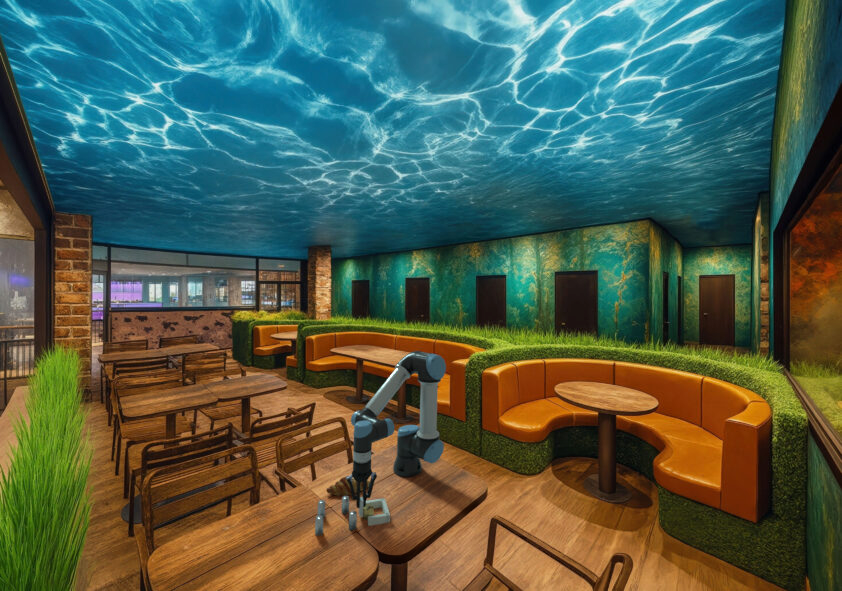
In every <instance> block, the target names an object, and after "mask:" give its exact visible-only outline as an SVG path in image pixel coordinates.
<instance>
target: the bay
mask: <svg viewBox="0 0 842 591" xmlns="http://www.w3.org/2000/svg"><path fill="white" fill-rule="evenodd" d="M366 505H372V506H373V507H374V509H378V508H380V509H382V513H380V514H373V516H368V520H367V526H368V527H369V526H371V527H372V526H377V525H383V524H388V523H390V522H391V514H390V511H389V507H388V505H387V501H386V498H385V497H384V498H383V497H382V498H376V499H371V500H370V499H369V500H366Z"/></svg>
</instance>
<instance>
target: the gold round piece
mask: <svg viewBox="0 0 842 591" xmlns="http://www.w3.org/2000/svg"><path fill="white" fill-rule="evenodd" d="M374 509H375V508H374V507H373V506H372V505H366V506H365V507H363V516H362V519H363V520H366V521H368V516H373V515H375V513H374V511H375V510H374Z"/></svg>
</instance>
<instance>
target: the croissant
mask: <svg viewBox="0 0 842 591" xmlns="http://www.w3.org/2000/svg"><path fill="white" fill-rule="evenodd" d="M347 476H348V475H346V476H343V477H341V478H340V480H338V481H336V482H335V483H334V484H331V485H330V486H329V487H327V488H326V492H327V493H328V494H329V495H330V494H331V495H333V496H337V497H340V496H341V497H343V496H352V494H351V490H350V485H349V483H348V482H347V478H346V477H347ZM352 479H353V480H352V484H353V488H354V493H355V494H357V482H356V480H355V479H354V478H352ZM369 483H370V480H369V479H368V480H367V486H366V489H368V487H369ZM362 491H363V482H361V485H360V492H362Z"/></svg>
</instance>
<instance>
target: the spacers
mask: <svg viewBox="0 0 842 591" xmlns="http://www.w3.org/2000/svg"><path fill="white" fill-rule="evenodd" d="M349 496H350V495H347V496H341V513H342V514H344V515H347V514H348V515H349V516H348V530H349V531H355V530H356V529H357V522H358V520H357V518H358V517H357V516H358V513H357V511H355V510H352V511H350V497H349ZM325 517H326V500H324V499H320V500H318V502H317V515H316V517H315V523H314V526H315V530H314V534H315V536H317V537H318V536H320V537H321V536H322V535H323V533H324V518H325Z"/></svg>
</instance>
